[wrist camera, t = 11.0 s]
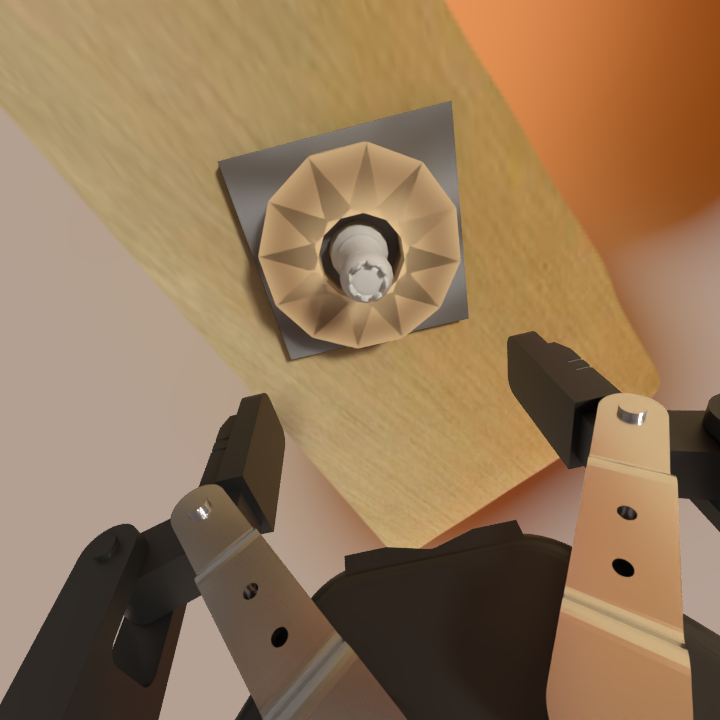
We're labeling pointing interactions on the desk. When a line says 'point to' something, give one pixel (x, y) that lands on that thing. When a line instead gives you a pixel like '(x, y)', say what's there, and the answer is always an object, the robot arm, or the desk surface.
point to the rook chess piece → (361, 261)
